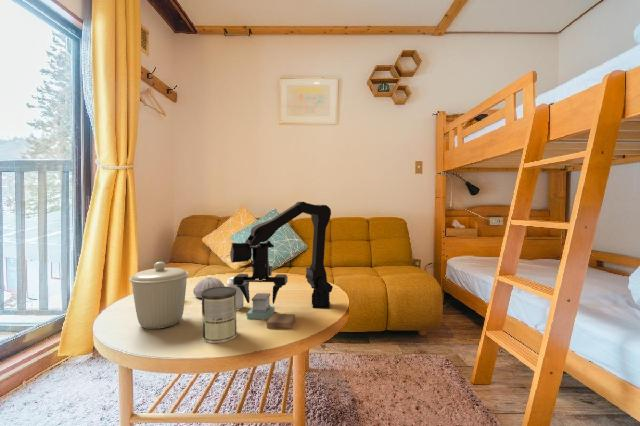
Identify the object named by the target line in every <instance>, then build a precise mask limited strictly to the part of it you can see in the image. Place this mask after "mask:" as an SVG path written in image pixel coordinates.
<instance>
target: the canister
mask: <svg viewBox="0 0 640 426" xmlns="http://www.w3.org/2000/svg"><path fill="white" fill-rule="evenodd" d="M189 274H190V272H188V271H187V270H184V268H180V267H166V263H165V262H164V261H157V262H155V263H153V268H150V269H144V270H141V271H138V272H136V273H134V274H133V275H132V276H130V277H129V278H128V281H130V283H131V287H132V295H133V301H134V307H135V312H136V318H137V322H138V324H139V325H140V327H142V328H144V329H147V330H148V329H149V330H150V329H151V330H152V329H153V330H154V329H156V330H157V329H164V328H168V327H172V326H174V325H176V324H177V323H179V322H180V321H181V320H182V318H183V315H184V309H185V300H186V292H187V291H186V290H187V279H188V278H187V277H189Z"/></svg>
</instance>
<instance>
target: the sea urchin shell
mask: <svg viewBox="0 0 640 426" xmlns="http://www.w3.org/2000/svg"><path fill="white" fill-rule="evenodd" d="M213 287H226V285H224V283H223V282H222V280H220V279H219V278H217V277H213V276H212V277H211V276H210V277H205V278H203V279H201V280H200V281H199V282H197V284H196V285H195V286H194V288H193V290H192V291H193V295H194V296H195V297H197V298H199V299H202V296H201V292H202V291H204V290H206V289H209V288H213Z"/></svg>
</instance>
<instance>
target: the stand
mask: <svg viewBox="0 0 640 426" xmlns="http://www.w3.org/2000/svg"><path fill="white" fill-rule="evenodd" d="M252 310H253V306H252V307H251V308H250V309H249V311H247V313H246V317H247V320H269V318H270V317H271V315H272V314H275V312H276V311H275V306H274V305H270V308H269V309H268V311H267V312H266V313H252Z"/></svg>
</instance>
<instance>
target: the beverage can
mask: <svg viewBox="0 0 640 426" xmlns="http://www.w3.org/2000/svg"><path fill="white" fill-rule="evenodd" d="M235 276H236V275H231V276H229V277H228V279H227V281H226V287H233V288H235V289H236V311H238V310H241V309H242V308H243V307H244V306H245V305H244V304H245V303H244V301H245V300H244V299H245V296H244V294H243V293H242V291H241V289H240V288H239V287H237V285H233V278H234V277H235Z"/></svg>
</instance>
